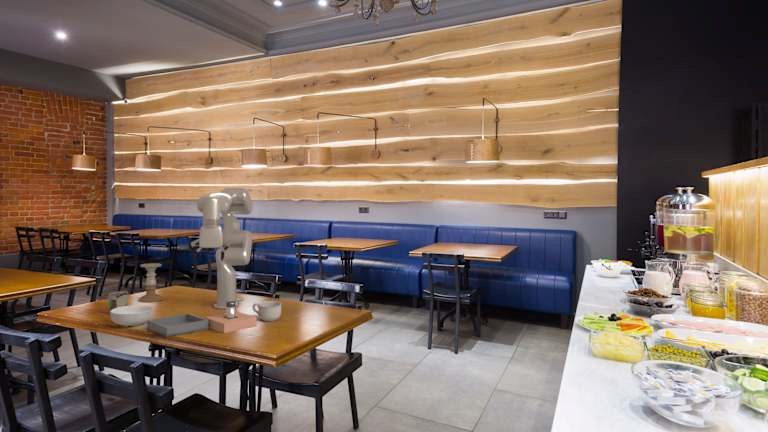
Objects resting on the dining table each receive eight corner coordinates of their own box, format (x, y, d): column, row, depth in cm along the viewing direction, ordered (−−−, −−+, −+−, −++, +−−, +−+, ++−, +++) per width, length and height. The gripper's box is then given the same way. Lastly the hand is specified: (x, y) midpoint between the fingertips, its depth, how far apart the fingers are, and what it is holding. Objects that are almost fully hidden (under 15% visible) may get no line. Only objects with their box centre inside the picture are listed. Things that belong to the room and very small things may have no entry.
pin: (232, 324, 204) (232, 300, 204) (237, 326, 201) (237, 301, 201) (224, 326, 201) (224, 301, 201) (229, 327, 198) (229, 303, 198)
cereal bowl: (122, 332, 189) (122, 315, 189) (102, 325, 198) (102, 310, 198) (161, 323, 204) (161, 308, 203) (140, 318, 212) (140, 303, 212)
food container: (115, 310, 226) (115, 290, 226) (128, 310, 227) (128, 290, 226) (102, 316, 214) (102, 295, 214) (115, 316, 214) (115, 295, 214)
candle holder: (133, 301, 246) (133, 265, 246) (148, 297, 259) (148, 262, 258) (153, 303, 244) (153, 266, 244) (167, 298, 257) (168, 263, 256)
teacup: (285, 318, 217) (285, 302, 216) (273, 323, 206) (273, 306, 206) (261, 315, 221) (261, 299, 221) (247, 320, 211) (247, 303, 211)
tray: (187, 321, 207) (187, 313, 207) (208, 328, 196) (208, 319, 196) (147, 329, 193) (147, 320, 193) (166, 337, 182) (167, 328, 182)
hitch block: (236, 319, 212) (236, 311, 212) (256, 325, 202) (256, 317, 202) (204, 326, 200) (204, 317, 200) (224, 333, 190) (224, 323, 190)
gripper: (230, 223, 214) (230, 259, 214) (191, 223, 208) (190, 260, 208) (231, 223, 207) (230, 260, 207) (190, 223, 201) (189, 261, 201)
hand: (210, 260), depth 207 cm, fingers open, 9 cm apart
